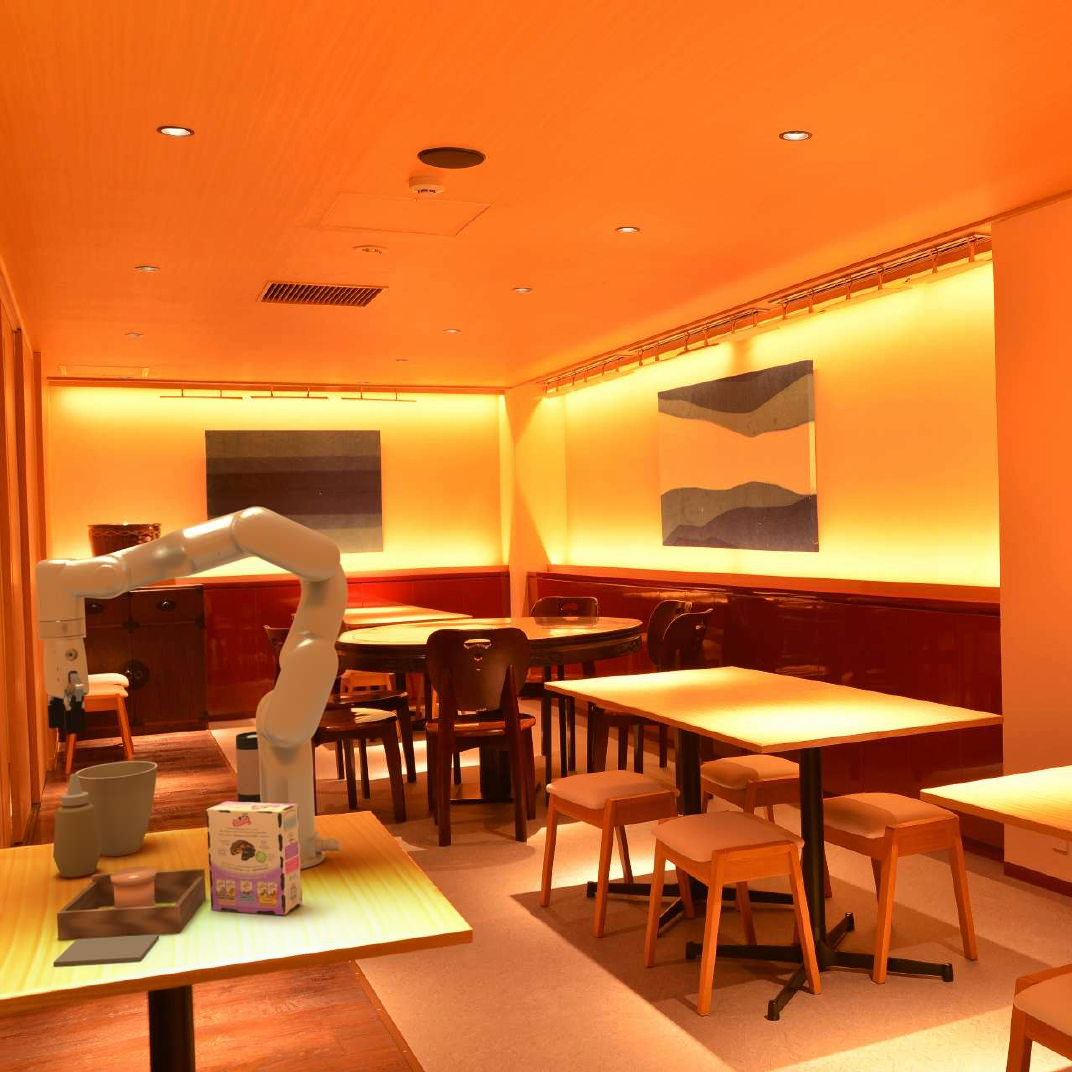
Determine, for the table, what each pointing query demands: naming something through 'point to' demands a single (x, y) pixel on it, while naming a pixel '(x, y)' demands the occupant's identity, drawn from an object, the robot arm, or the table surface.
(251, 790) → the travel mug
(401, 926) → the table surface
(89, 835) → the squeeze bottle
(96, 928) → the frame
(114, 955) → the mat
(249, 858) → the candy box
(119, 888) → the terracotta pot
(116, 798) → the plant pot
